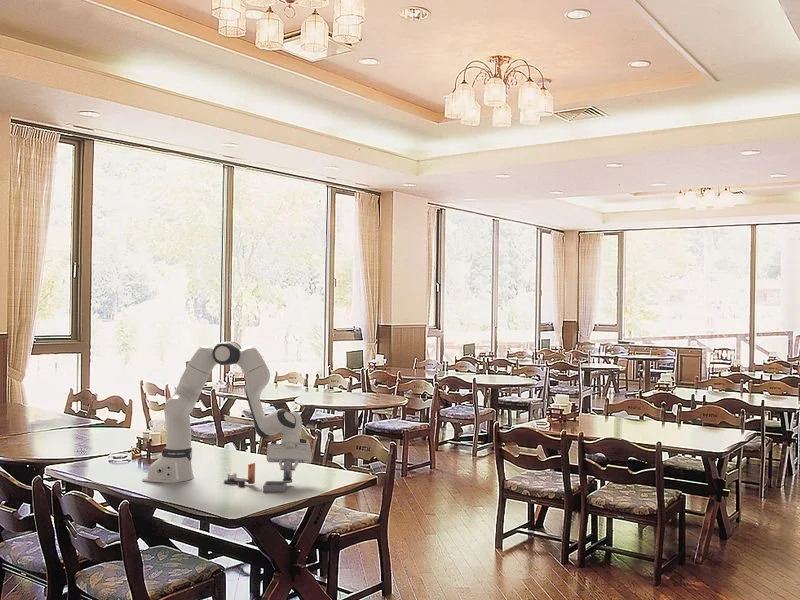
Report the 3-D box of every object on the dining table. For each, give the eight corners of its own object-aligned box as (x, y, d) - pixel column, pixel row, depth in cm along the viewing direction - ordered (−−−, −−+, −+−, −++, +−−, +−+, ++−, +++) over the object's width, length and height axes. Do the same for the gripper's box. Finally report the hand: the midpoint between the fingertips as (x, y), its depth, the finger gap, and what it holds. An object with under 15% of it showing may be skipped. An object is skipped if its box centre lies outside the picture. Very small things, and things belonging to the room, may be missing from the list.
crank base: (222, 484, 341) (222, 482, 341) (225, 480, 348) (225, 478, 348) (238, 484, 341) (238, 482, 341) (240, 480, 348) (241, 479, 348)
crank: (225, 480, 344) (226, 461, 344) (231, 478, 348) (231, 459, 348) (251, 484, 337) (251, 464, 337) (256, 482, 341) (257, 463, 341)
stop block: (238, 486, 338) (238, 480, 338) (242, 485, 339) (242, 480, 339) (240, 486, 337) (241, 481, 337) (244, 486, 338) (244, 480, 338)
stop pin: (281, 482, 338) (282, 460, 338) (283, 480, 343) (283, 458, 343) (291, 483, 338) (292, 460, 339) (292, 480, 343) (293, 458, 343)
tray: (263, 492, 328) (263, 485, 328) (265, 487, 337) (265, 481, 337) (284, 492, 328) (284, 486, 328) (286, 487, 337) (286, 481, 337)
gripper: (267, 439, 347) (263, 465, 337) (312, 440, 348) (310, 466, 338) (268, 447, 352) (264, 473, 342) (312, 448, 353) (310, 474, 343)
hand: (287, 469), depth 340 cm, fingers closed on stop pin, 4 cm apart
